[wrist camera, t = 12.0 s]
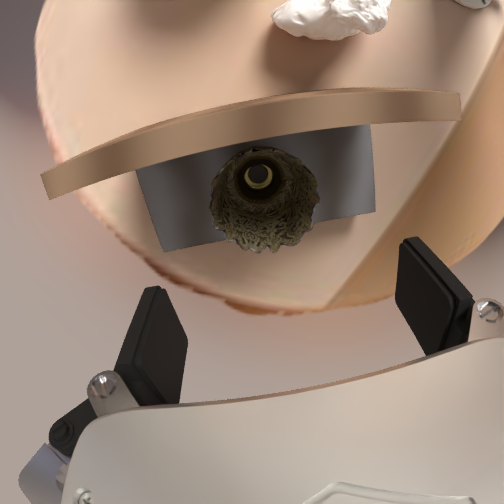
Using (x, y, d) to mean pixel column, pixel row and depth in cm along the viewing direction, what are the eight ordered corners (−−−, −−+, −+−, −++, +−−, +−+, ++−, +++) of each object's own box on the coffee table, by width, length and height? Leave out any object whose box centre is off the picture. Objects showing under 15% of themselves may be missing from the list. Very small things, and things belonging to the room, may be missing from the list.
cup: (226, 125, 24) (220, 137, 17) (308, 144, 25) (334, 164, 18) (210, 204, 28) (200, 244, 21) (286, 218, 29) (301, 262, 22)
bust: (272, 41, 26) (325, 94, 21) (244, -14, 19) (300, 18, 15) (363, 7, 23) (432, 52, 19) (349, -46, 17) (430, -16, 12)
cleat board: (348, 87, 27) (459, 93, 11) (360, 196, 33) (446, 289, 17) (140, 128, 28) (40, 174, 12) (171, 233, 34) (126, 350, 18)
